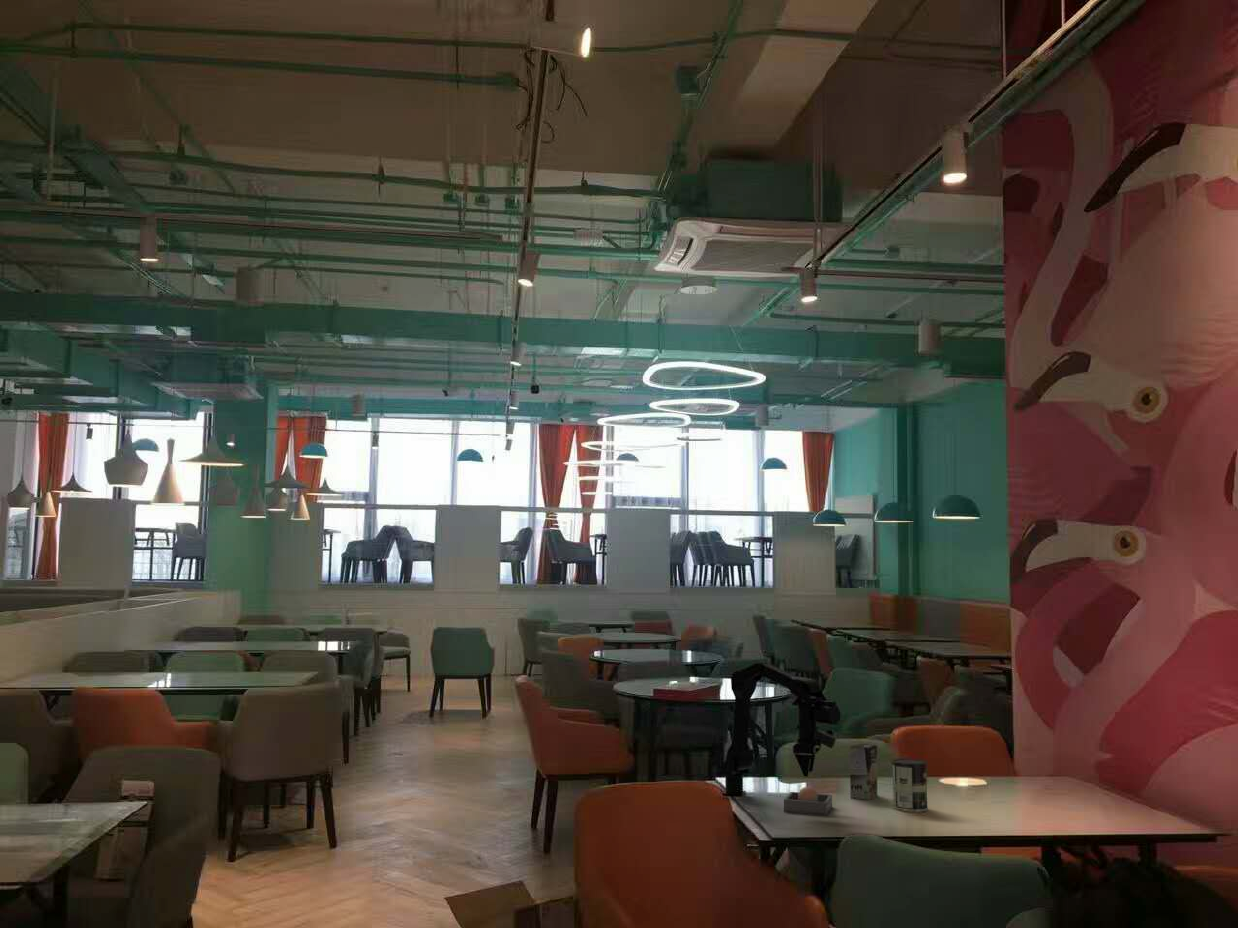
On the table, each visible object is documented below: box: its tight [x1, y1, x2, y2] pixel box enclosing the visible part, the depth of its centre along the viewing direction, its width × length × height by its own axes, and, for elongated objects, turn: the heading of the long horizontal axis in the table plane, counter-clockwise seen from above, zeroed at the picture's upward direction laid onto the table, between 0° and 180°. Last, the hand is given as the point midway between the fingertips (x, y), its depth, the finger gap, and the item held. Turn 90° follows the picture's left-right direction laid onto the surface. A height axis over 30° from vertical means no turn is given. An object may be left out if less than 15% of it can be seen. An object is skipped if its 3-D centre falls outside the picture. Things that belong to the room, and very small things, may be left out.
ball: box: [798, 786, 819, 802], centre depth 305 cm, size 6×6×6 cm
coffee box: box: [849, 743, 878, 800], centre depth 326 cm, size 9×6×16 cm
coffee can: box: [891, 758, 928, 813], centre depth 309 cm, size 10×10×14 cm
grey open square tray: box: [783, 791, 833, 816], centre depth 305 cm, size 13×13×4 cm
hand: (808, 773), depth 306 cm, fingers open, 9 cm apart
